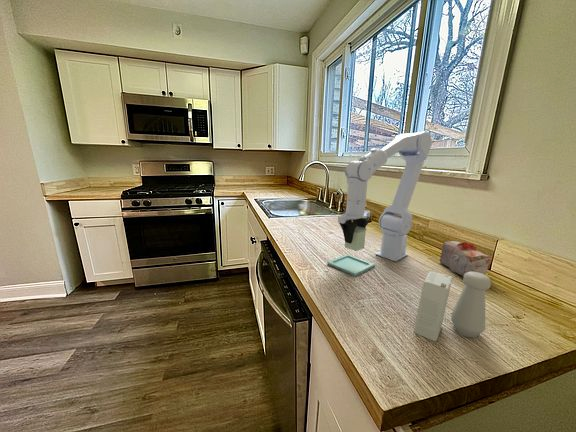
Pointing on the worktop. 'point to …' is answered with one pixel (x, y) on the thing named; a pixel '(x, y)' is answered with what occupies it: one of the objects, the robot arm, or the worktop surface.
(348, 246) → the tea tin
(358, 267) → the tray
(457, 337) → the worktop surface
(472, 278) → the salt shaker
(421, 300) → the skincare box
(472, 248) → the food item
